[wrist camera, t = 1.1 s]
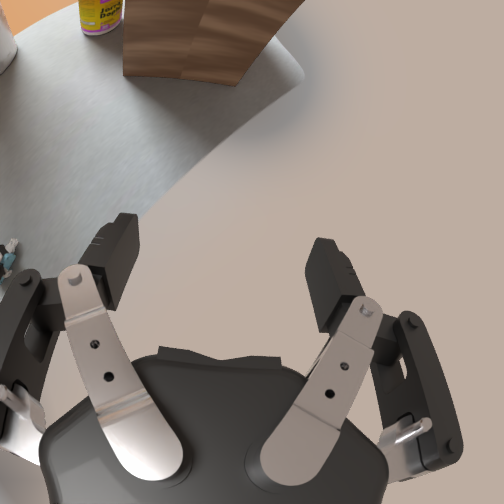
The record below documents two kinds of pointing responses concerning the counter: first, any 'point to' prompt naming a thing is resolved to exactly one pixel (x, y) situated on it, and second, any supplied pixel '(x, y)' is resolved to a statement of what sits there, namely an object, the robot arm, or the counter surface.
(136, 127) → the counter surface
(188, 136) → the counter surface
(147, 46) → the stand
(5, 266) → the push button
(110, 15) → the supplement bottle
